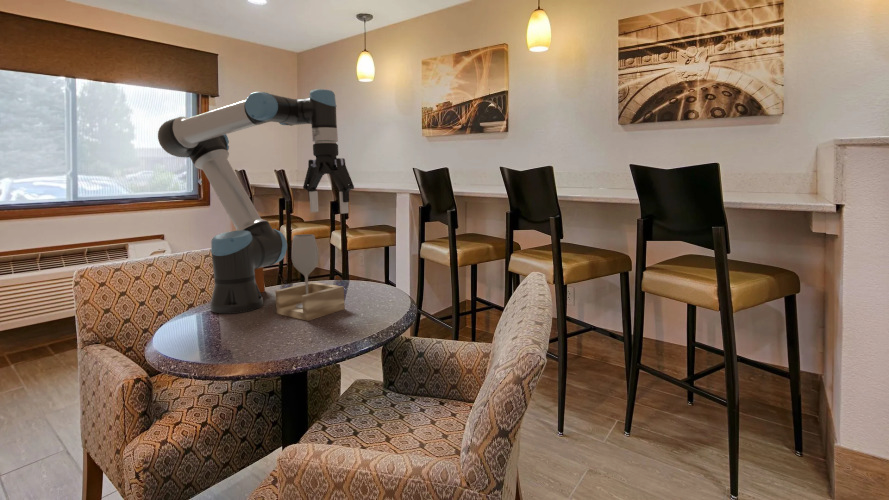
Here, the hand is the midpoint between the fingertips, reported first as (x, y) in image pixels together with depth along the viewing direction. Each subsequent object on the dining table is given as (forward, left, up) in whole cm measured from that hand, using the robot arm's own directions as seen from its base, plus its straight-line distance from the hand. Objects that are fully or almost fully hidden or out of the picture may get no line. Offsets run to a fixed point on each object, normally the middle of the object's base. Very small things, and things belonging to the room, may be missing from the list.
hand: (329, 212), depth 156 cm
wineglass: (+2, -12, -27) cm, 30 cm away
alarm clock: (-35, -9, -29) cm, 46 cm away
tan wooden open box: (+2, -11, -29) cm, 31 cm away
